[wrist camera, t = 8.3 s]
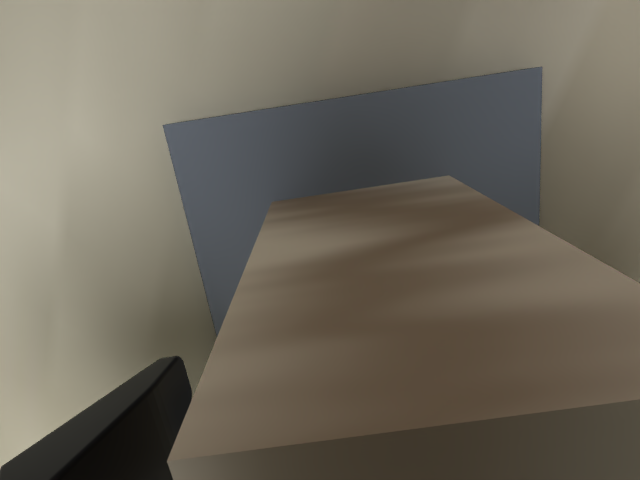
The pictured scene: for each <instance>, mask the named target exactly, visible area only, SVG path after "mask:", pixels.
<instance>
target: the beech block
mask: <svg viewBox="0 0 640 480" xmlns="http://www.w3.org/2000/svg"><path fill="white" fill-rule="evenodd" d="M167 463H168V466H169V469H170V472H171V475H172V478H173V480H640V283H639V282H637V281H635V280H633V279H632V278H630V277H628V276H626V275H625V274H623V273H621V272H619V271H618V270H616V269H614V268H612V267H610V266H609V265H607V264H605V263H603V262H602V261H600V260H598V259H596V258H595V257H593V256H591V255H589V254H587V253H586V252H584V251H582V250H580V249H579V248H577V247H575V246H573V245H572V244H570V243H568V242H566V241H564V240H563V239H561V238H559V237H557V236H556V235H554V234H552V233H550V232H549V231H547V230H545V229H543V228H541V227H540V226H538V225H536V224H534V223H533V222H531V221H529V220H527V219H526V218H524V217H522V216H520V215H518V214H517V213H515V212H513V211H511V210H510V209H508V208H506V207H504V206H503V205H501V204H499V203H497V202H495V201H494V200H492V199H490V198H488V197H487V196H485V195H483V194H481V193H480V192H478V191H476V190H474V189H472V188H471V187H469V186H467V185H465V184H464V183H462V182H460V181H458V180H456V179H455V178H453V177H451V176H449V175H448V176H441V177H435V178H428V179H421V180H415V181H408V182H401V183H395V184H388V185H381V186H375V187H368V188H361V189H355V190H348V191H341V192H335V193H328V194H321V195H315V196H308V197H301V198H295V199H288V200H281V201H275V202H272V203H271V205H270V208H269V210H268V213H267V215H266V217H265V220H264V222H263V225H262V227H261V230H260V232H259V235H258V237H257V240H256V242H255V245H254V247H253V250H252V252H251V255H250V257H249V259H248V262H247V264H246V267H245V269H244V272H243V274H242V277H241V279H240V282H239V284H238V287H237V289H236V292H235V294H234V297H233V299H232V301H231V304H230V306H229V309H228V311H227V314H226V316H225V319H224V321H223V324H222V326H221V329H220V331H219V334H218V336H217V339H216V341H215V343H214V346H213V348H212V351H211V353H210V356H209V358H208V361H207V363H206V366H205V368H204V371H203V373H202V376H201V378H200V381H199V383H198V385H197V388H196V390H195V393H194V395H193V398H192V400H191V403H190V405H189V408H188V410H187V413H186V415H185V418H184V420H183V423H182V425H181V428H180V430H179V432H178V435H177V437H176V440H175V442H174V445H173V447H172V450H171V452H170V455H169V457H168V460H167Z"/></svg>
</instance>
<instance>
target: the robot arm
mask: <svg viewBox="0 0 640 480" xmlns="http://www.w3.org/2000/svg"><path fill="white" fill-rule="evenodd" d="M191 400H192V391H191V386H190V383H189V379H188V376H187V372H186V369H185V366H184V362H183V360H182V359H181V358H180V357H179V356H173V357H166V358H161V359H159V360H157V361H156V362H154V363H153V364H151V365H150V366H148V367H147V368H145V369H144V370H143V371H141V372H140V373H138V374H137V375H135V376H134V377H132V378H131V379H129V380H128V381H126V382H125V383H123V384H122V385H120V386H119V387H118V388H116V389H115V390H113V391H112V392H110V393H109V394H107V395H106V396H104V397H103V398H101V399H100V400H98V401H97V402H95V403H94V404H93V405H91V406H90V407H88V408H87V409H85V410H84V411H82V412H81V413H79V414H78V415H76V416H75V417H73V418H72V419H70V420H69V421H68V422H66V423H65V424H63V425H62V426H60V427H59V428H57V429H56V430H54V431H53V432H51V433H50V434H48V435H47V436H45V437H44V438H43V439H41V440H40V441H38V442H37V443H35V444H34V445H32V446H31V447H29V448H28V449H26V450H25V451H23V452H22V453H20V454H19V455H18V456H16V457H15V458H13V459H12V460H10V461H9V462H7V463H6V464H4V465H3V466H2V467H1V469H0V480H173V478H172V475H171V472H170V469H169V466H168V463H167V460H168V457H169V455H170V452H171V450H172V447H173V445H174V442H175V440H176V437H177V435H178V432H179V430H180V428H181V425H182V423H183V420H184V418H185V415H186V413H187V410H188V408H189V405H190V403H191Z"/></svg>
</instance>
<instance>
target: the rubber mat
mask: <svg viewBox="0 0 640 480" xmlns="http://www.w3.org/2000/svg"><path fill="white" fill-rule="evenodd" d="M541 108H542V67H536V68H529V69H523V70H516V71H510V72H503V73H497V74H490V75H484V76H477V77H471V78H464V79H458V80H451V81H445V82H438V83H432V84H425V85H419V86H412V87H406V88H399V89H393V90H386V91H380V92H373V93H367V94H360V95H354V96H347V97H341V98H335V99H328V100H322V101H315V102H309V103H302V104H296V105H289V106H283V107H276V108H270V109H263V110H257V111H250V112H244V113H237V114H231V115H224V116H218V117H211V118H205V119H198V120H192V121H185V122H179V123H172V124H166V125H163V128H164V132H165V136H166V140H167V144H168V148H169V151H170V155H171V159H172V163H173V167H174V171H175V175H176V179H177V183H178V187H179V191H180V194H181V198H182V202H183V206H184V210H185V214H186V218H187V222H188V226H189V230H190V234H191V238H192V241H193V245H194V249H195V253H196V257H197V261H198V265H199V269H200V273H201V277H202V281H203V284H204V288H205V292H206V296H207V300H208V304H209V308H210V312H211V316H212V320H213V324H214V328H215V331H216V335H217V336H218V334H219V331H220V329H221V326H222V324H223V321H224V319H225V316H226V314H227V311H228V309H229V306H230V304H231V301H232V299H233V297H234V294H235V292H236V289H237V287H238V284H239V282H240V279H241V277H242V274H243V272H244V269H245V267H246V264H247V262H248V259H249V257H250V255H251V252H252V250H253V247H254V245H255V242H256V240H257V237H258V235H259V232H260V230H261V227H262V225H263V222H264V220H265V217H266V215H267V213H268V210H269V208H270V205H271V203H272V202H275V201H281V200H288V199H295V198H301V197H308V196H315V195H321V194H328V193H335V192H341V191H348V190H355V189H361V188H368V187H375V186H381V185H388V184H395V183H401V182H408V181H415V180H421V179H428V178H435V177H441V176H448V175H449V176H451V177H453V178H455V179H456V180H458V181H460V182H462V183H464V184H465V185H467V186H469V187H471V188H472V189H474V190H476V191H478V192H480V193H481V194H483V195H485V196H487V197H488V198H490V199H492V200H494V201H495V202H497V203H499V204H501V205H503V206H504V207H506V208H508V209H510V210H511V211H513V212H515V213H517V214H518V215H520V216H522V217H524V218H526V219H527V220H529V221H531V222H533V223H534V224H536V225H538V226H539V213H540V160H541Z"/></svg>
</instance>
